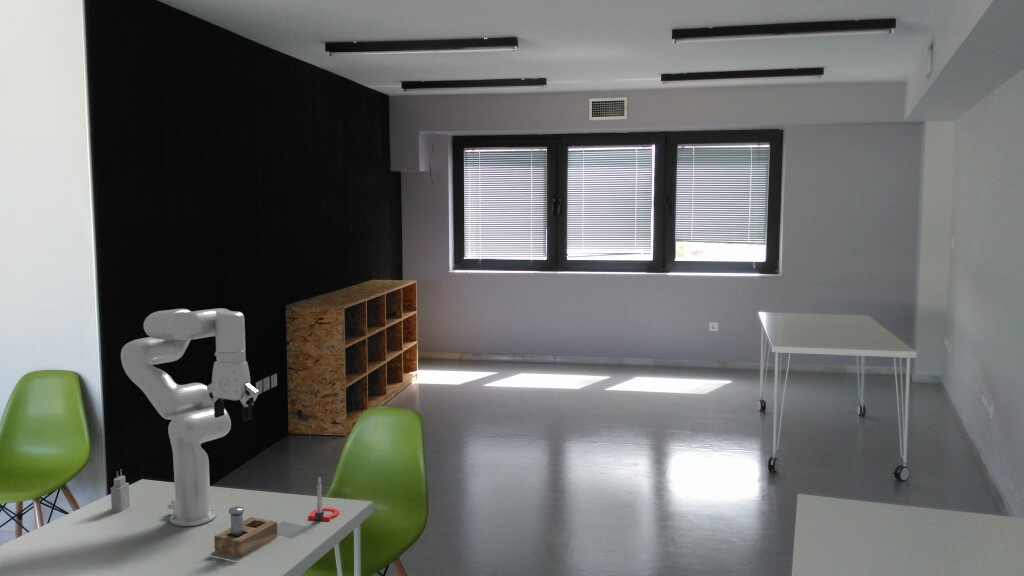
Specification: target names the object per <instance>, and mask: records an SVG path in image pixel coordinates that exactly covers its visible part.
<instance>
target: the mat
mask: <svg viewBox="0 0 1024 576" xmlns="http://www.w3.org/2000/svg"><path fill="white" fill-rule="evenodd" d="M311 528H312V527H311V526H307V525H303V524H298V523H293V522H288V521H281V522H280V523H277V536H282V537H284V538H285V537H287V538H290V539H293V538H296V537H297V536H298V535H300V534H302V533H304V532H306V531H307V530H308V529H311Z"/></svg>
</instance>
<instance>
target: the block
mask: <svg viewBox="0 0 1024 576" xmlns="http://www.w3.org/2000/svg"><path fill="white" fill-rule="evenodd" d="M277 524H278V522H277V521H274V520H269V519H266V518H265V519H264V518H260V517H259V518H258V517H254V516H250V517H248V518H246V519H244V520H243V535H242V536H241V537H239V538H235V537H231V527H229V528H227V529H225V530H223V531H221V532H219V533H217V534H215V535H214V551H215V552H216V553H220V554H224V555H225V554H226V555H229V556H234V557H237V558H243V557H244V556H245V557H246V556H247V555H248V554H250V553H251V552H253V551H255V550H257V549H259V548H261V547H262V546H264V545H265V544H267V543H269V542H271V541H272V540H275V539H277V537H278V535H277Z"/></svg>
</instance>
